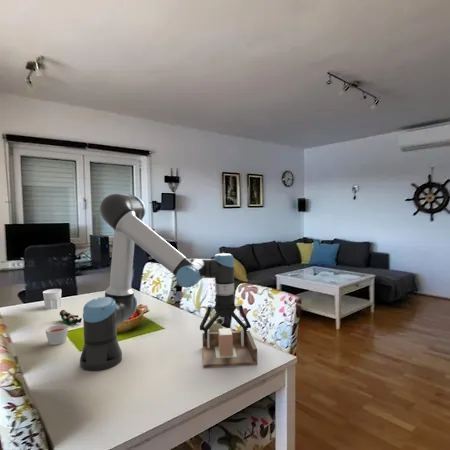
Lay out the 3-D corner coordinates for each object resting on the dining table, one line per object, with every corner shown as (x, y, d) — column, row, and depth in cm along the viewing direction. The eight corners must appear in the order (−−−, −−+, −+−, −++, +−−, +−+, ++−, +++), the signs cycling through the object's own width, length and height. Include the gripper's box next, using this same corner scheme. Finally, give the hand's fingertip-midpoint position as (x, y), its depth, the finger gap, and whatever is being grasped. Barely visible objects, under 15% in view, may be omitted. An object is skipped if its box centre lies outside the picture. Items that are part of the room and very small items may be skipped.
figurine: (71, 321, 162) (54, 310, 170) (70, 332, 163) (53, 321, 171) (85, 316, 168) (68, 306, 176) (84, 327, 169) (67, 316, 177)
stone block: (213, 343, 142) (213, 331, 142) (207, 333, 153) (207, 323, 153) (226, 341, 144) (226, 330, 143) (219, 332, 155) (219, 321, 154)
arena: (203, 367, 120) (203, 351, 120) (202, 346, 138) (202, 332, 138) (257, 364, 122) (257, 348, 121) (249, 344, 139) (249, 330, 139)
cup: (50, 304, 202) (50, 288, 202) (65, 305, 201) (65, 289, 200) (39, 309, 192) (38, 293, 192) (55, 310, 191) (54, 293, 190)
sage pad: (216, 358, 125) (216, 357, 125) (214, 347, 135) (214, 346, 135) (237, 357, 125) (237, 356, 125) (234, 346, 135) (234, 345, 135)
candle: (42, 342, 145) (42, 328, 144) (64, 336, 151) (63, 323, 151) (50, 348, 138) (49, 333, 138) (72, 341, 145) (71, 327, 145)
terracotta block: (218, 348, 133) (218, 328, 133) (230, 347, 134) (230, 327, 133) (219, 356, 126) (219, 335, 126) (232, 355, 127) (232, 334, 126)
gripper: (192, 296, 124) (193, 351, 125) (257, 294, 126) (258, 348, 127) (193, 291, 132) (194, 343, 133) (254, 289, 134) (254, 340, 135)
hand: (225, 346), depth 130 cm, fingers open, 13 cm apart
